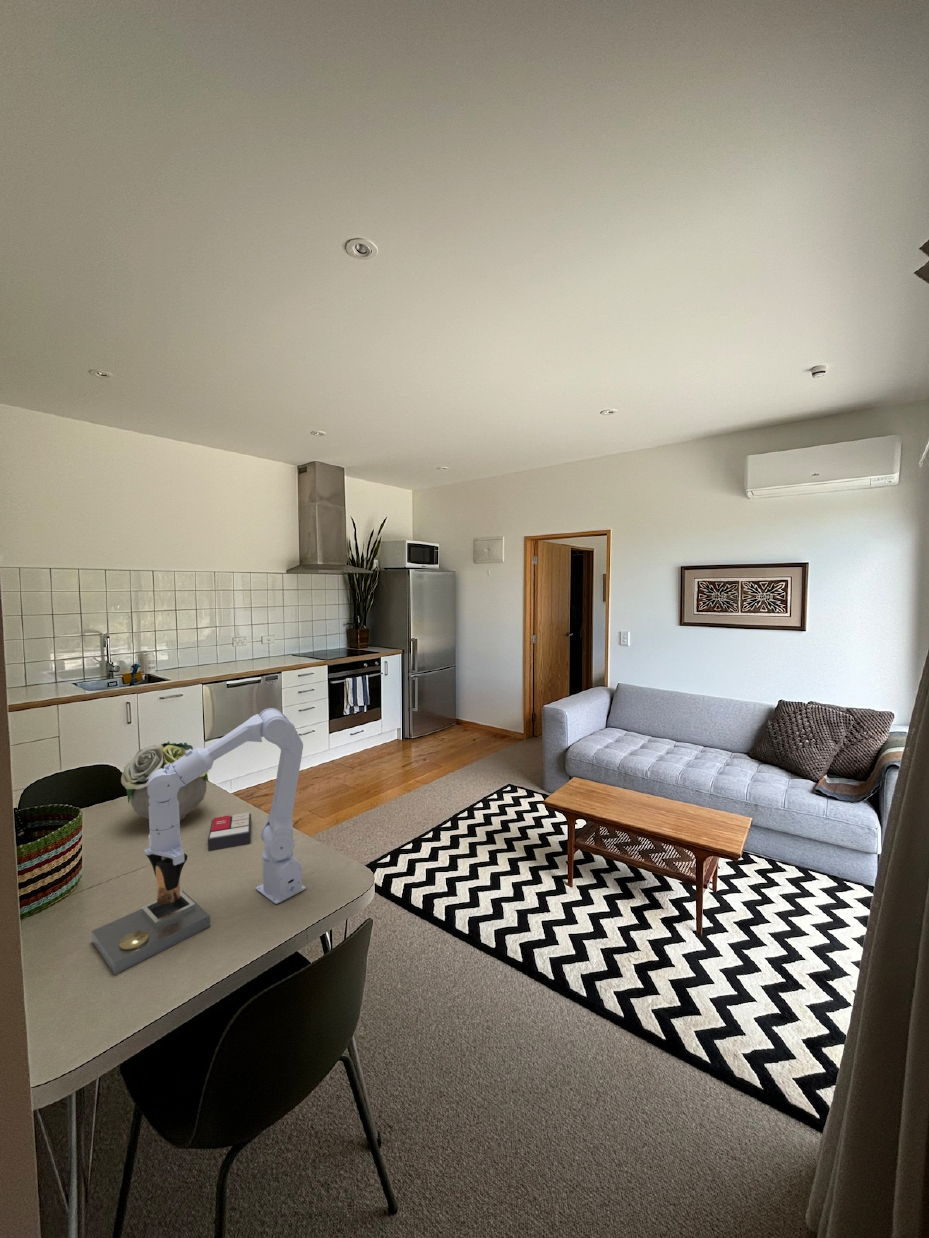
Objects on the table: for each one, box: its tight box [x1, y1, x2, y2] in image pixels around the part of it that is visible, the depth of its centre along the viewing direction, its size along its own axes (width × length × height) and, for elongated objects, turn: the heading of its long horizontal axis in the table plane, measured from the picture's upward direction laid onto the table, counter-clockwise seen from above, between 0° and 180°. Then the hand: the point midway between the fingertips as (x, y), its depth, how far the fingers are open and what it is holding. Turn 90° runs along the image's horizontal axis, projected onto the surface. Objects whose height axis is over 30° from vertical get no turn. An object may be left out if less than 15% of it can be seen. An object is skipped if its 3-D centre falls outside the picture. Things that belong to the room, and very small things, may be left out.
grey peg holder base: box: [91, 889, 211, 976], centre depth 109 cm, size 14×18×4 cm
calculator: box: [207, 812, 252, 852], centre depth 152 cm, size 11×4×15 cm
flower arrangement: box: [120, 741, 210, 821], centre depth 161 cm, size 25×25×24 cm
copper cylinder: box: [155, 856, 181, 905], centre depth 113 cm, size 4×4×10 cm
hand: (167, 883), depth 113 cm, fingers closed on copper cylinder, 4 cm apart
